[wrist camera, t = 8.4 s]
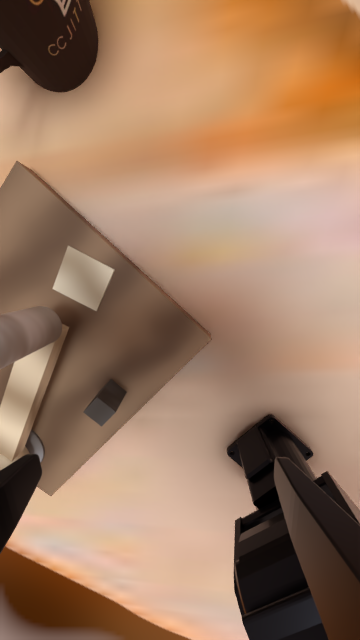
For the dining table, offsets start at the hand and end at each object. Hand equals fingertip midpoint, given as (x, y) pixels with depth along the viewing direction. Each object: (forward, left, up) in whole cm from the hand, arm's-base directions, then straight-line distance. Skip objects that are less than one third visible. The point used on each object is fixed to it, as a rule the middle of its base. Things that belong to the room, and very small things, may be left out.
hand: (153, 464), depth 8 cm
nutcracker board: (+9, +10, -13) cm, 19 cm away
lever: (+7, +13, -10) cm, 18 cm away
